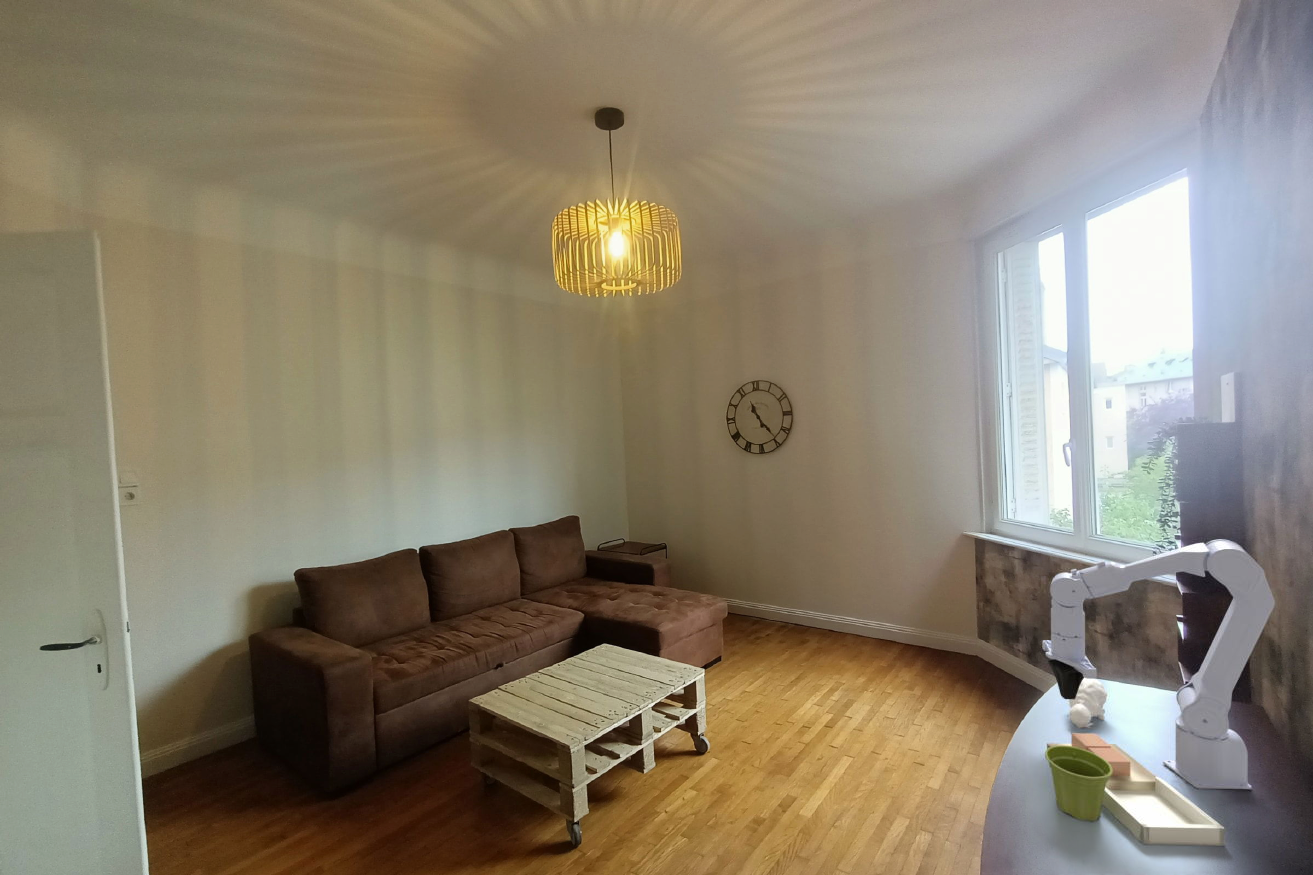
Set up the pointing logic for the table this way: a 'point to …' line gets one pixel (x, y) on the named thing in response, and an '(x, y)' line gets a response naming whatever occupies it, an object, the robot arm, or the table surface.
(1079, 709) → the white figurine
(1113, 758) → the tile
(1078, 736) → the tile
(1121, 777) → the thin cream square panel
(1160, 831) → the tray
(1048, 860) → the table surface
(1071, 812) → the plant pot
